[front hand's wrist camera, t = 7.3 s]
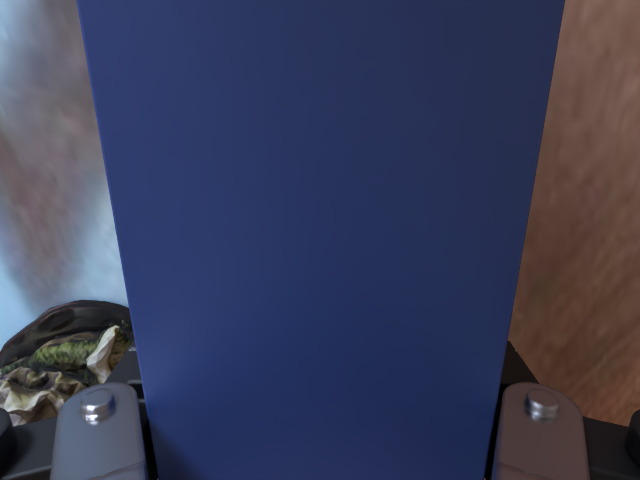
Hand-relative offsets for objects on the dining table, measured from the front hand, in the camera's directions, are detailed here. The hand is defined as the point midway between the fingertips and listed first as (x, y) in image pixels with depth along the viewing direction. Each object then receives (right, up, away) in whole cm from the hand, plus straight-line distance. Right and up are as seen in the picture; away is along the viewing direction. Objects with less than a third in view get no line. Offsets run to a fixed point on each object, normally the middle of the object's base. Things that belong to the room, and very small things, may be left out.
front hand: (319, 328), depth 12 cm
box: (0, +11, +2) cm, 12 cm away
